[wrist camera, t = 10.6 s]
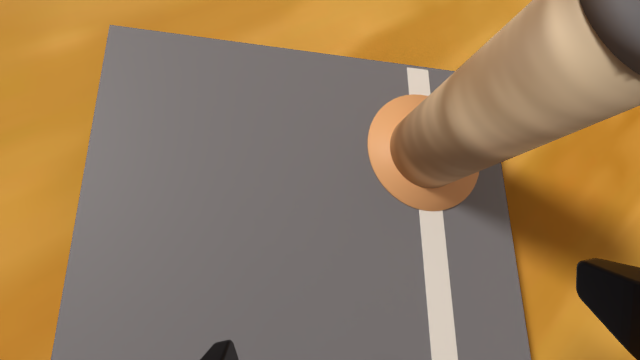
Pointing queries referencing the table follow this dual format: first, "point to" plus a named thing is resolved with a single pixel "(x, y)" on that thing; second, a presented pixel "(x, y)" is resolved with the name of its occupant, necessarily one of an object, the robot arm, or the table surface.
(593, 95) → the beige cylindrical canister
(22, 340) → the table surface
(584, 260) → the robot arm
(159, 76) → the subfloor panel
